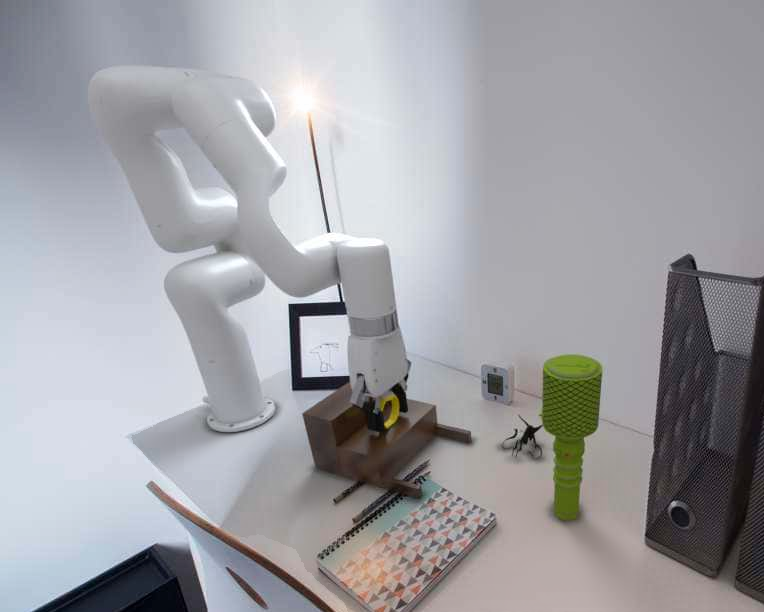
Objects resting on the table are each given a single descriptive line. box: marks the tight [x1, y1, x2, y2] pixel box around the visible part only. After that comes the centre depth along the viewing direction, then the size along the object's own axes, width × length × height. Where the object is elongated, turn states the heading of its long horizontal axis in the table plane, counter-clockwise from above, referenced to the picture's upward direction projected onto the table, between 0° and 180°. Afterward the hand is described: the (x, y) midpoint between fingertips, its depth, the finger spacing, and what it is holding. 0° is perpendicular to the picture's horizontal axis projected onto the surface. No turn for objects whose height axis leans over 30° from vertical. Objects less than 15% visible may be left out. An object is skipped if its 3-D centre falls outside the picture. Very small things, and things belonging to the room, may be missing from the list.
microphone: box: [538, 354, 604, 522], centre depth 74 cm, size 8×8×25 cm
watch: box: [379, 391, 400, 429], centre depth 90 cm, size 6×3×6 cm, turn 160°
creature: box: [501, 414, 543, 460], centre depth 93 cm, size 8×5×8 cm
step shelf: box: [301, 381, 472, 500], centre depth 91 cm, size 21×18×11 cm
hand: (388, 419), depth 91 cm, fingers closed on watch, 6 cm apart
